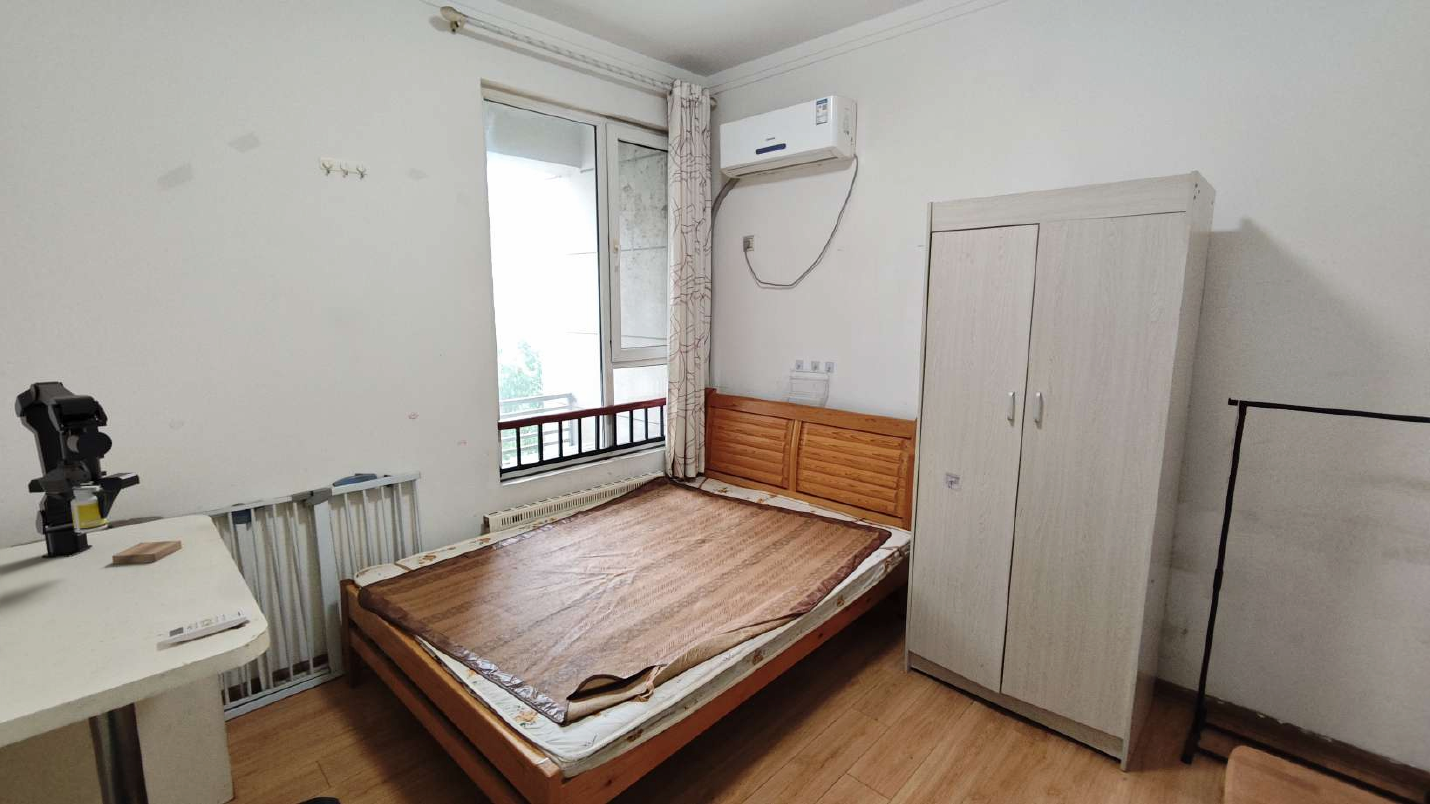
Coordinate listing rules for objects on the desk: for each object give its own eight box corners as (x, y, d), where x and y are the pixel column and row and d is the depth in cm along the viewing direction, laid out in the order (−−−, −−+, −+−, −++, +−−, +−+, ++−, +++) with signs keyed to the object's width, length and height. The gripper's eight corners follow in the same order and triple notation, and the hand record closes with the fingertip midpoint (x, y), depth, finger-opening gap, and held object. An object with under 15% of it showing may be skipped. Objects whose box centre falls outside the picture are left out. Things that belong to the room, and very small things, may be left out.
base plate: (113, 564, 147) (112, 556, 147) (141, 550, 156) (140, 542, 156) (155, 561, 148) (154, 553, 148) (181, 548, 157) (180, 540, 157)
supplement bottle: (114, 526, 144) (108, 485, 143) (88, 533, 139) (82, 491, 138) (94, 525, 145) (88, 484, 144) (67, 532, 140) (61, 490, 139)
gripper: (-3, 461, 131) (9, 532, 133) (96, 459, 133) (105, 528, 135) (47, 450, 142) (57, 516, 144) (137, 448, 144) (145, 513, 146)
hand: (90, 518), depth 142 cm, fingers closed on supplement bottle, 5 cm apart
